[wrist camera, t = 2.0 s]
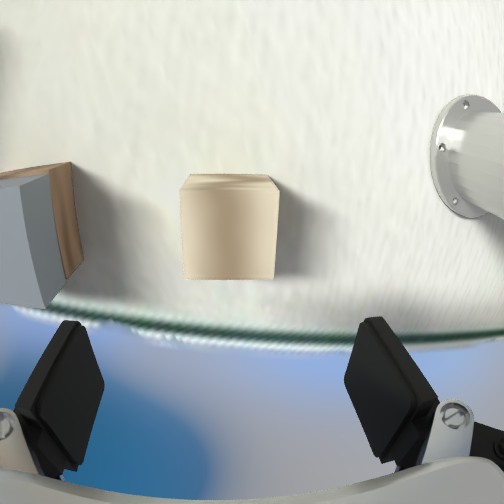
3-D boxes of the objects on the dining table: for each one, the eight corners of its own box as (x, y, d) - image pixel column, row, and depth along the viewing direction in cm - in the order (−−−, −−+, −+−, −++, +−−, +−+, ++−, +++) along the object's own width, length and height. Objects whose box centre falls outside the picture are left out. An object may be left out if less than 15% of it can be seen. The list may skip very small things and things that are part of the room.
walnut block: (71, 161, 22) (48, 169, 18) (84, 258, 26) (67, 279, 22) (-1, 172, 21) (-26, 182, 18) (15, 258, 25) (-5, 276, 21)
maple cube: (267, 174, 24) (279, 191, 19) (263, 244, 26) (273, 279, 21) (190, 173, 23) (179, 190, 18) (192, 245, 26) (183, 279, 20)
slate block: (49, 173, 19) (19, 185, 15) (66, 282, 22) (45, 308, 19) (-25, 183, 18) (-54, 196, 14) (-6, 277, 21) (-29, 298, 18)
